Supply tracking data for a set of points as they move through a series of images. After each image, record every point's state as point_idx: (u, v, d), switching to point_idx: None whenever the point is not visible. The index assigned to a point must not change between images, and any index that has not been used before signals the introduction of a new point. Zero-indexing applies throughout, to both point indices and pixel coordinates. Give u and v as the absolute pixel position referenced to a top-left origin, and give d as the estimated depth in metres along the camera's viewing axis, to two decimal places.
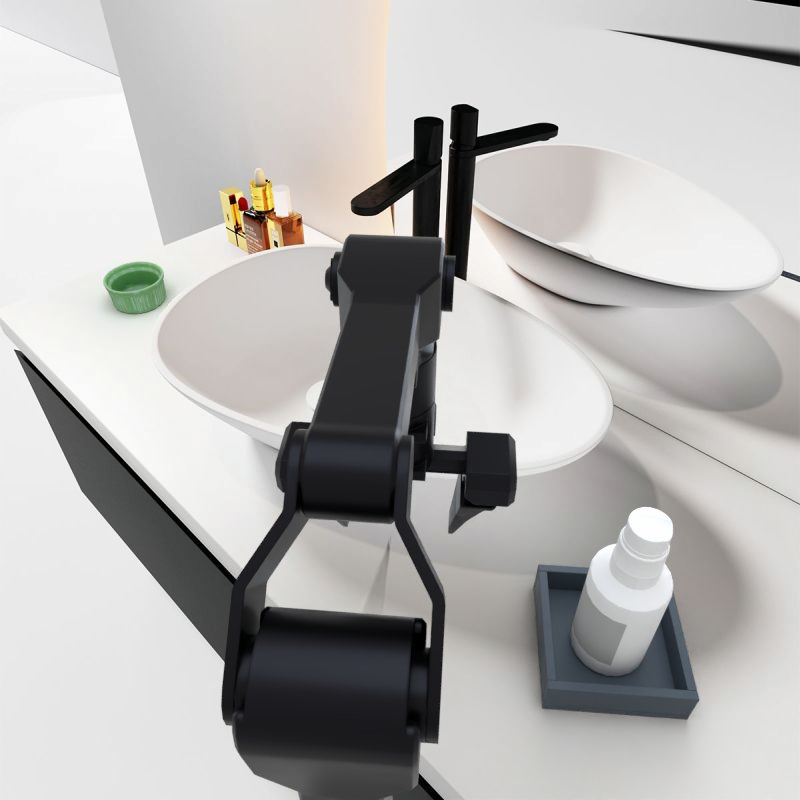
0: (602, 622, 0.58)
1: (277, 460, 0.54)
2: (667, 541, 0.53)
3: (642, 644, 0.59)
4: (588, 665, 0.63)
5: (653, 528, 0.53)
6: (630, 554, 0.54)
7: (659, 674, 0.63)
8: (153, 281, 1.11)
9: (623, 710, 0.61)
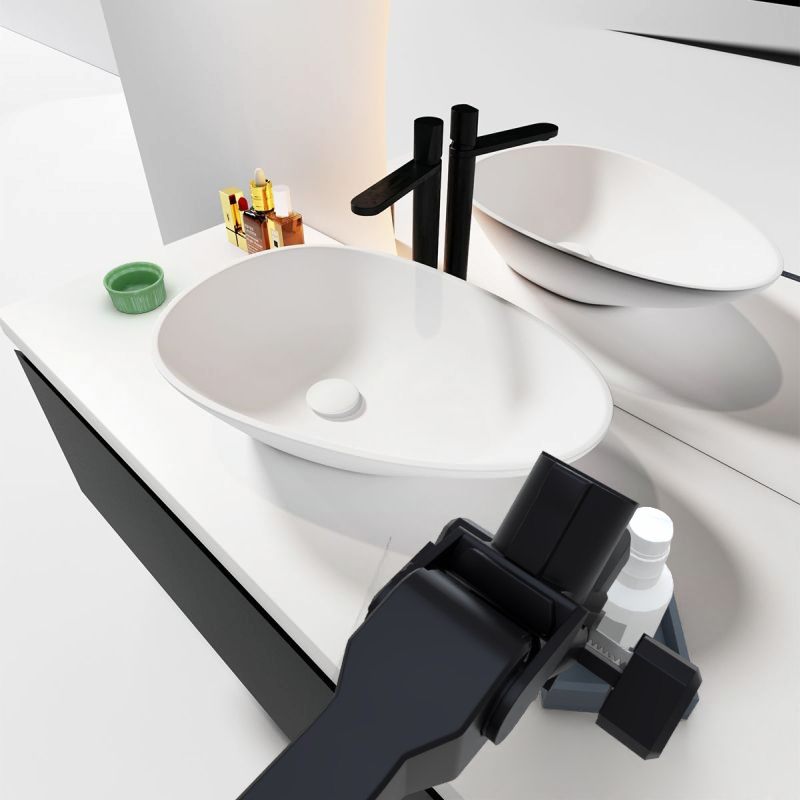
0: (602, 622, 0.58)
1: None
2: (667, 541, 0.53)
3: None
4: None
5: (653, 528, 0.53)
6: (630, 554, 0.54)
7: None
8: (153, 281, 1.11)
9: None
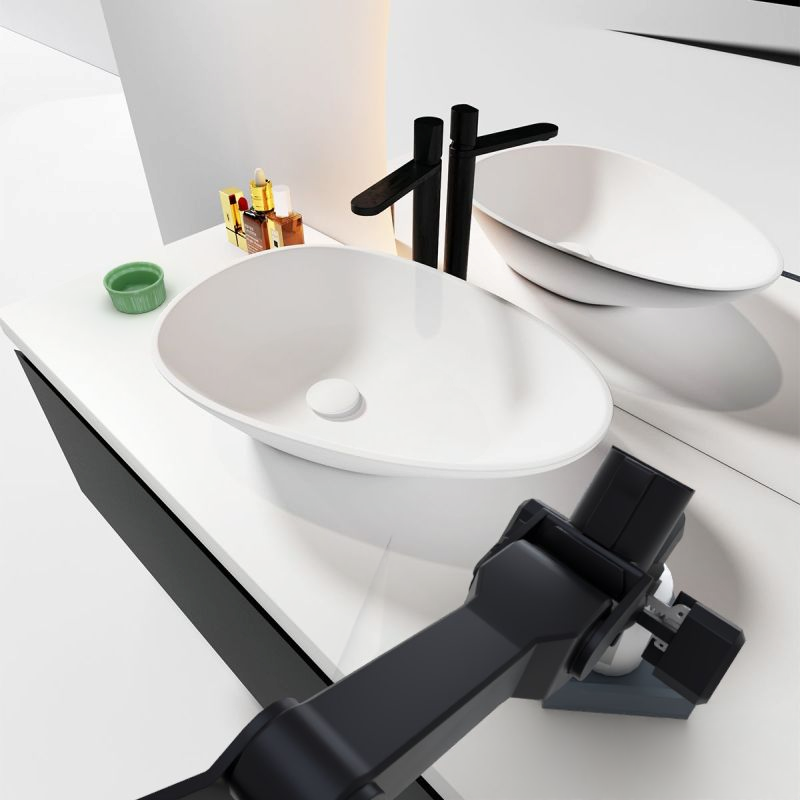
0: None
1: None
2: None
3: (642, 644, 0.59)
4: None
5: None
6: None
7: None
8: (153, 281, 1.11)
9: (623, 710, 0.61)
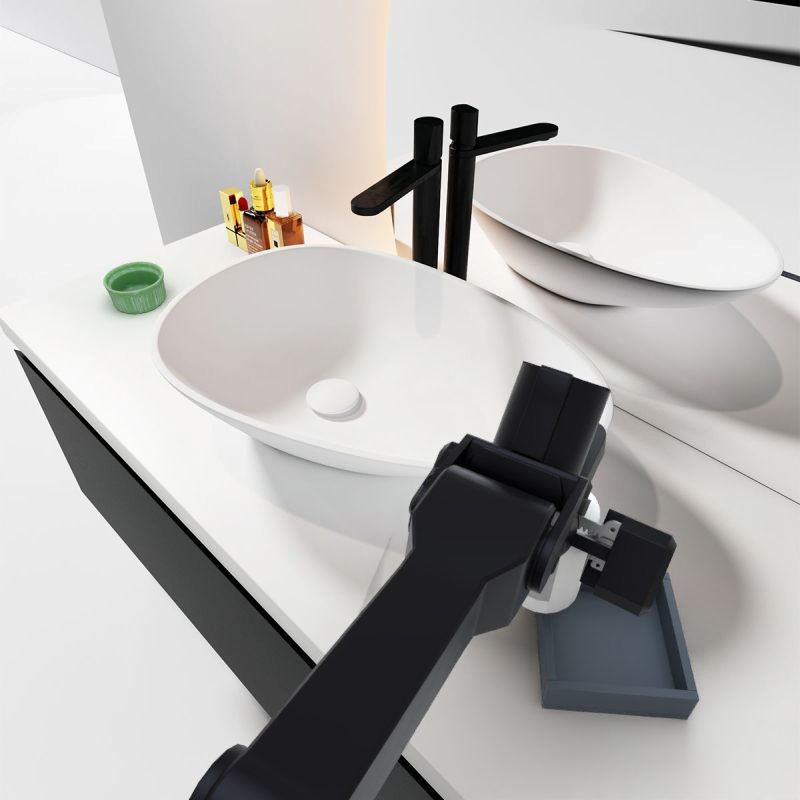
0: None
1: None
2: None
3: (577, 574, 0.59)
4: (527, 606, 0.62)
5: None
6: None
7: (659, 674, 0.63)
8: (153, 281, 1.11)
9: (623, 710, 0.61)
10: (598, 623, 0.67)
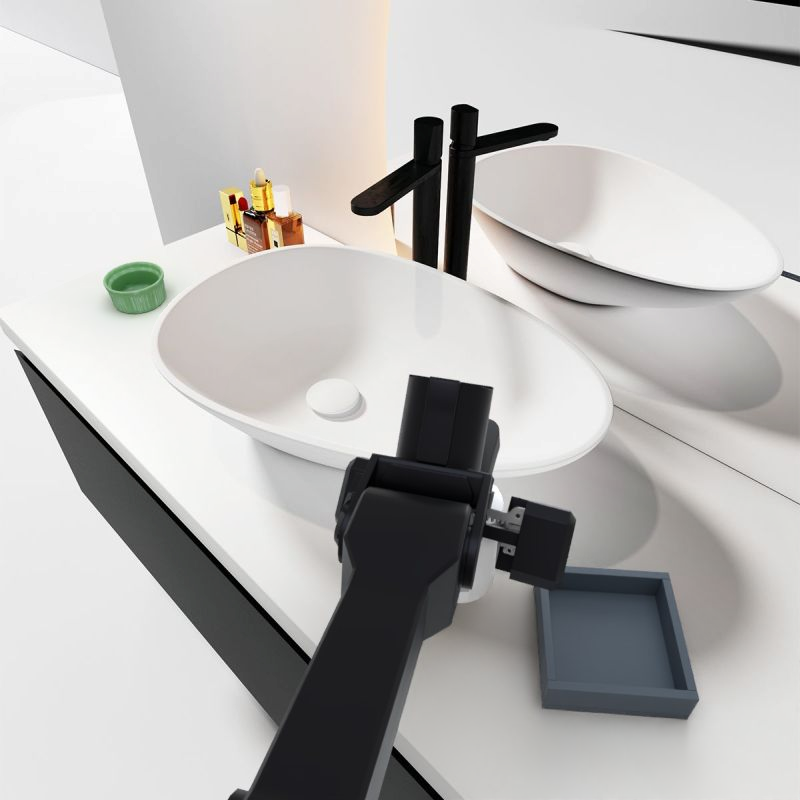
0: None
1: (336, 514, 0.57)
2: None
3: (491, 560, 0.63)
4: None
5: None
6: None
7: (659, 674, 0.63)
8: (153, 281, 1.11)
9: (623, 710, 0.61)
10: (598, 623, 0.67)
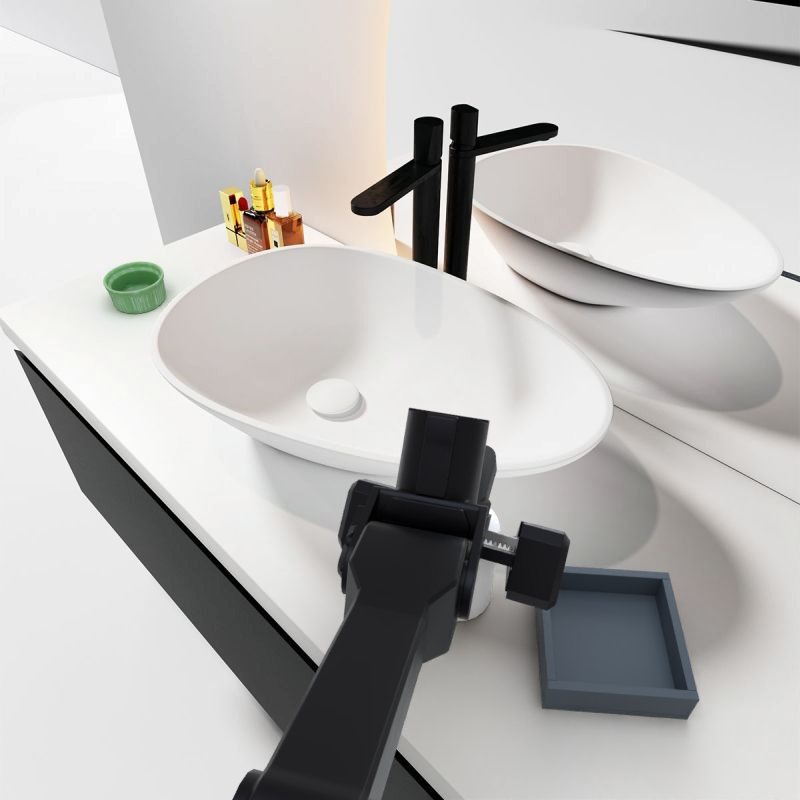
0: None
1: (339, 535, 0.59)
2: None
3: (488, 581, 0.65)
4: None
5: None
6: None
7: (659, 674, 0.63)
8: (153, 281, 1.11)
9: (623, 710, 0.61)
10: (598, 623, 0.67)
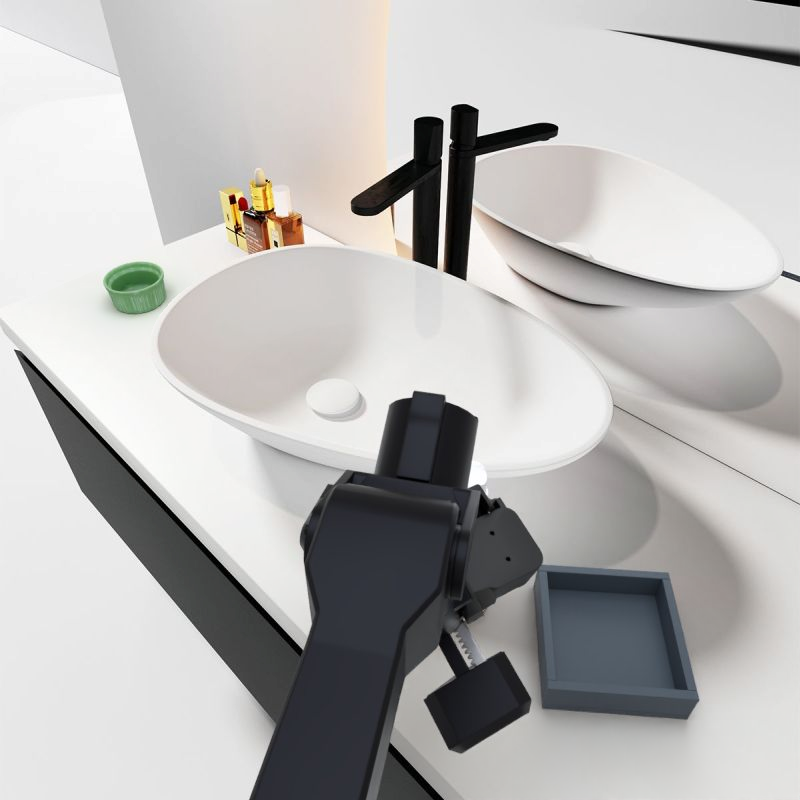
0: None
1: None
2: (484, 484, 0.58)
3: None
4: None
5: (469, 477, 0.58)
6: None
7: (659, 674, 0.63)
8: (153, 281, 1.11)
9: (623, 710, 0.61)
10: (598, 623, 0.67)
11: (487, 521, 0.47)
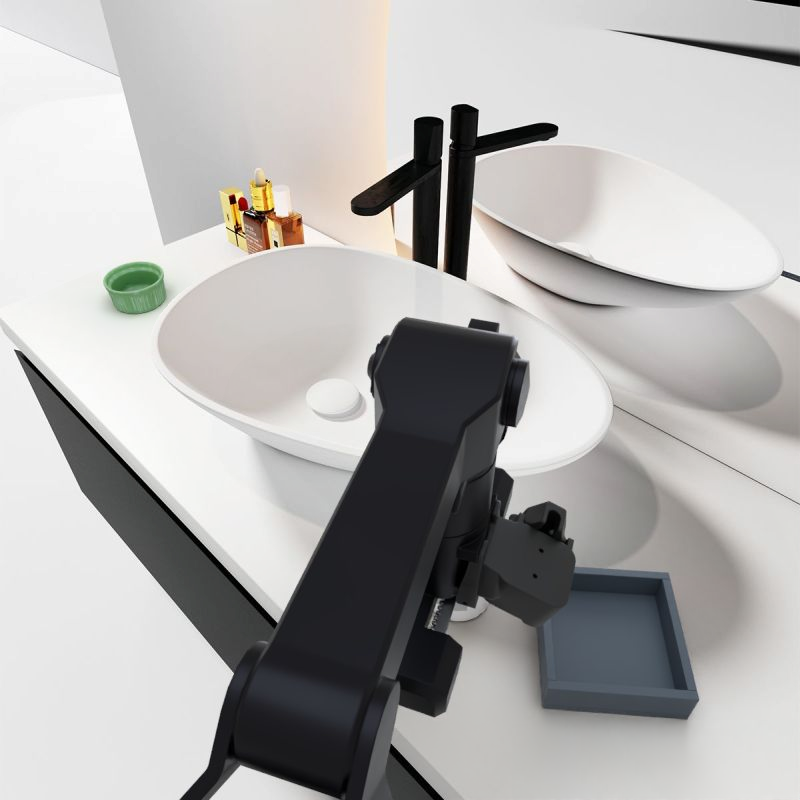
0: None
1: None
2: None
3: None
4: None
5: None
6: None
7: (659, 674, 0.63)
8: (153, 281, 1.11)
9: (623, 710, 0.61)
10: (598, 623, 0.67)
11: (546, 541, 0.45)
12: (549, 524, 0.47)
